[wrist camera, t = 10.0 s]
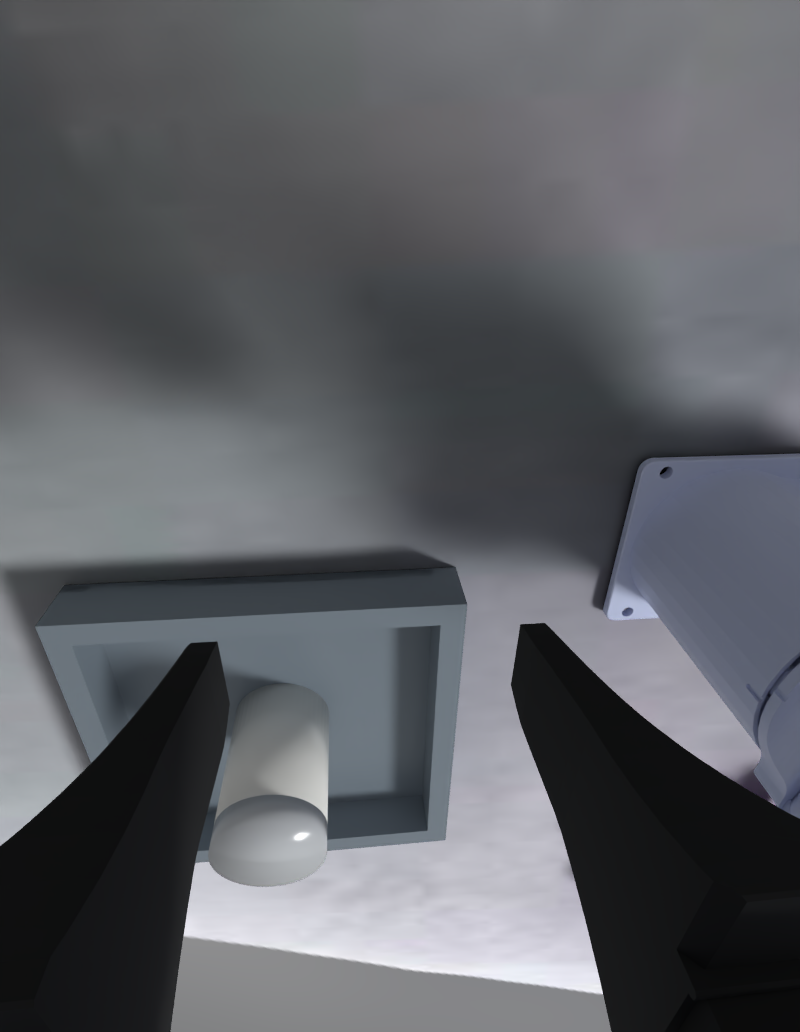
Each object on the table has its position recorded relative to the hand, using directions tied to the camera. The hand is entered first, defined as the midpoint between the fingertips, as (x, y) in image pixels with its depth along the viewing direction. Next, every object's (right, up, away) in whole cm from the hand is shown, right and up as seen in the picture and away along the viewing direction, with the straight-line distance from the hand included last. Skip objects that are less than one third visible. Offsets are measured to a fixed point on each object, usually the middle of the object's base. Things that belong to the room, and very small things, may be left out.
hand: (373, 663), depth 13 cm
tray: (-5, -6, +14) cm, 16 cm away
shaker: (-5, -6, +13) cm, 15 cm away
